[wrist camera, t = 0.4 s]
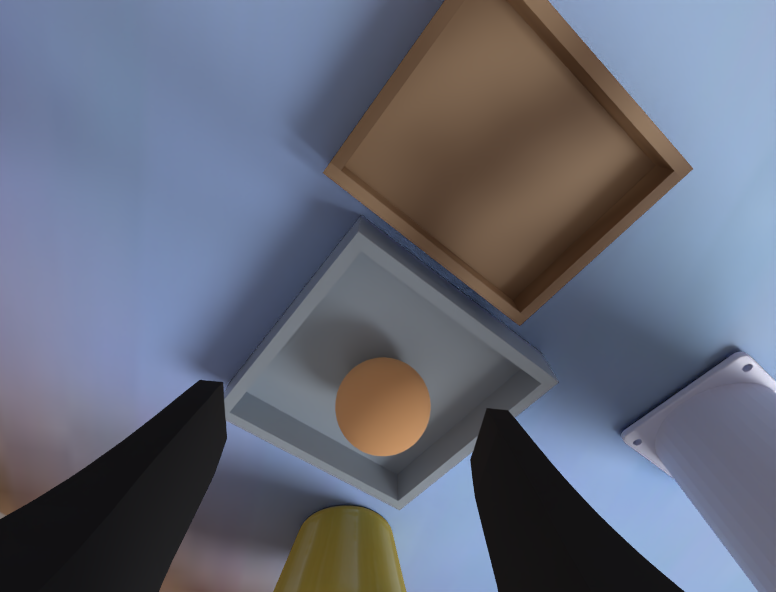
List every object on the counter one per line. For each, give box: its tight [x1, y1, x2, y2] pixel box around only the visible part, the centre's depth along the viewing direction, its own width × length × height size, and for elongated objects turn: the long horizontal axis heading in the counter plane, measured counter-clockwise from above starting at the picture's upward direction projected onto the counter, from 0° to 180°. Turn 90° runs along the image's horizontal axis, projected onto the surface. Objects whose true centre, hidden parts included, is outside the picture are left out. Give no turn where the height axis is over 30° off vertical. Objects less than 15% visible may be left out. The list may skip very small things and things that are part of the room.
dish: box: [224, 215, 559, 510], centre depth 21 cm, size 12×12×2 cm
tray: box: [323, 0, 693, 326], centre depth 16 cm, size 11×9×2 cm
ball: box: [335, 357, 431, 456], centre depth 20 cm, size 5×5×5 cm
